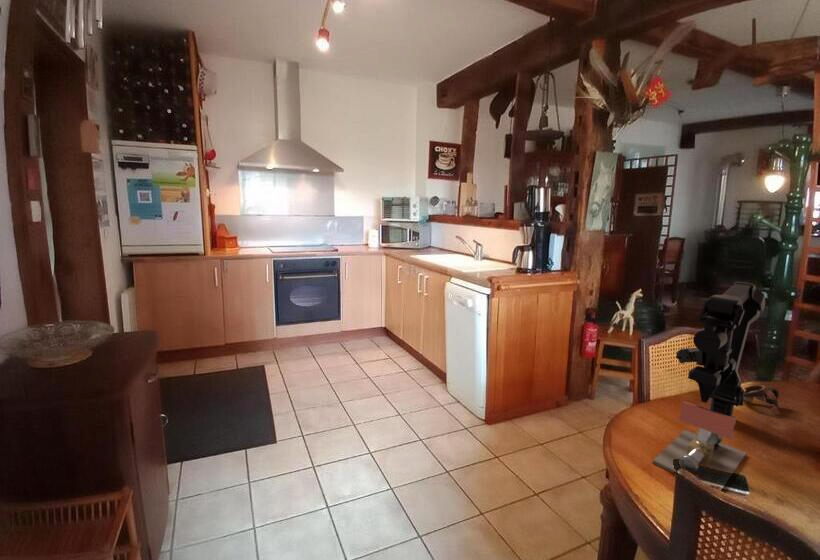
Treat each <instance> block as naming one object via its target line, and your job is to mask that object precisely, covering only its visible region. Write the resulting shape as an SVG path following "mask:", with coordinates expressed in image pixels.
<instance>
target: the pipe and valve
mask: <svg viewBox="0 0 820 560" xmlns="http://www.w3.org/2000/svg"><path fill="white" fill-rule="evenodd" d="M696 441H697V440H696V439H694V440H693V441H692V442H691V443H690V444H689V445H688V450H687V455H684V456H682V457H681V458H680V460H679V464H680V466H681V468H682V467H684V468H683V469H685V468H687V469H686V470H688V471H689V472H691V473H694V472H696V471H697V470H698V468H699V463H701V464H704V465H706V466H707V465H708V464H709V462H710V461H711V460H712V458H713V452H714V449H718V448H719V447H720V445H719V443H722V441H723V436H721V435H718V434H715V433H712V432H709V437H708V443H707V446H703V445H701V444H698V443H696Z"/></svg>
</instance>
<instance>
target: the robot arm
mask: <svg viewBox="0 0 820 560" xmlns="http://www.w3.org/2000/svg"><path fill="white" fill-rule="evenodd" d="M704 301H705V302H704V305H703V307H702V309H701V312H700V315H699V318H698V321H697V322H698V323H701V324H704V327H703V328H702V329H700V330H699V331H697V332H696V333H695V334H694V336H693V339H692V340H693V344H694V346H695V347H688V348H680V349H679V350H677V351H676V356H675V359H677V360H678V362H679V364H685V363H696V365H697V366H694V367H693V368H692V369H690V370H689V371H688V375H687V378H688V379H689V380H692V381H694V382H695V383H696V384H697V385H698V391H699V394H700V395H699V396H700V400H701V402H702V403H705V404H706V403H707V402H708V401H710V402H709V407H708V409H710V410H713V411H716V412H719V413H722V414H725V415H728V416H731V417H734V418H736V417H735V416H733V413H734V408H735V407H742V406H743V405H744V402H745V401H744V392H743V390H744V389H743V387H742V379H741V376H740V375H739V372H738V370H739V366H740V363H741V360H742V356H743V351H744V348H745V345H746V344H745V343H746V340H747V336H748V332H749V330H750V329H749V328H750V325H751V324H752V323H754V322H755V321H756V320H758V318H760V315H761V312H763V311H764V310H765V306H766V298H765V294H764V293H763V292H761V291H760V290H758V289H757V287H756V284H754V283H752V282H751V283H750V282H743V281H736V282H735V281H733V282H732V283H731V286H730V287H729V288H728V289H727V290H726V291H725V292H724V293H723V294H714V295H711V296H709V298H708V299H705V300H704ZM734 406H735V407H734Z"/></svg>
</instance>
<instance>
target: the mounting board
mask: <svg viewBox="0 0 820 560" xmlns="http://www.w3.org/2000/svg"><path fill="white" fill-rule="evenodd" d="M697 437H698V433H695V432H692V431H690V430H687V429H684V430H683V431H682V432H681V433H679V434H678V435H677V436H676V438H675V439H673V440H672V441H671V442H670V443H669V445H667V446H666V447H665V448H664V449H663V450H662V451H661V452H660V453H659V454H658V455H657V456H656V457H655V458H654V459H653V460H652V464H653V465H655V466H658V467H659V468H662V469H664V470H667V471H668V472H671V473H673V474H675V473H674V472H676V470H675V469H674V465H673V460H674V459H680V458H681V457H682V456H684V455H687V450H688V445H689V444H690V443H691V442H692V441H693V440H694V439H696V440H697ZM719 445H720V447H719V448H718V449H714V452H713V458H712V460H711V461H710V462H709V464H708V465H707V466H706V465H704V464H701V463H699V465H703V466H706V467H711V468H715V469H718V470H723V471H726V472H731V473H735V472H736V470H737V469H738V467H740V465H741V464H742V462H743V460H744V459H745V457H746V456H747V452H746V451H744V450H743V451H742V450H740V449H737V448H735V447H732V446H730V445H727V444H725V443H722V442H720V443H719ZM692 474H693V473H692ZM695 476H696V477H697V478H699V477H698V475H695ZM699 479H700V478H699ZM702 481H703V480H702ZM715 488H716V487H715ZM719 489H720V490H722V488H719ZM722 491H723V490H722Z"/></svg>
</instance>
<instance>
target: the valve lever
mask: <svg viewBox="0 0 820 560" xmlns="http://www.w3.org/2000/svg"><path fill="white" fill-rule="evenodd" d="M680 407H681V408H680V412H679V413H680V414H679V418H678V420H679V421H680V422H682V423H685V424H688V425H690V426H694V427H696V428H698V432H697V434H698V437H697V441H696V443H698V444H701V445H703V446H707V443H708V437H709V432H712V433H715V434H718V435H721V436H722V438H723V437H724V438H726V439H729V440H731V439H733V435H734V430H735V426H736V421H737V417H735V416H733V417H731V416H728V415H725V414H722V413H719V412H716V411H713V410H710V409H709V408H707V407H704V406H700V405H698V404H695V403H691V402H688V401H686V400H683V401H681V406H680ZM734 417H735V418H734Z"/></svg>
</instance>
